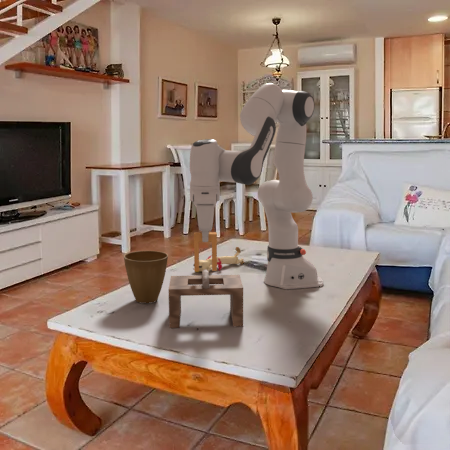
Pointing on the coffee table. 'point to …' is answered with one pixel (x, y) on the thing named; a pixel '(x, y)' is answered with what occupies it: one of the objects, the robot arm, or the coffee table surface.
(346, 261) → the coffee table surface
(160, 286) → the plant pot
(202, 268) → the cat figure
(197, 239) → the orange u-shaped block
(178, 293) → the wooden table with hole
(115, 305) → the coffee table surface
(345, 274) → the coffee table surface
